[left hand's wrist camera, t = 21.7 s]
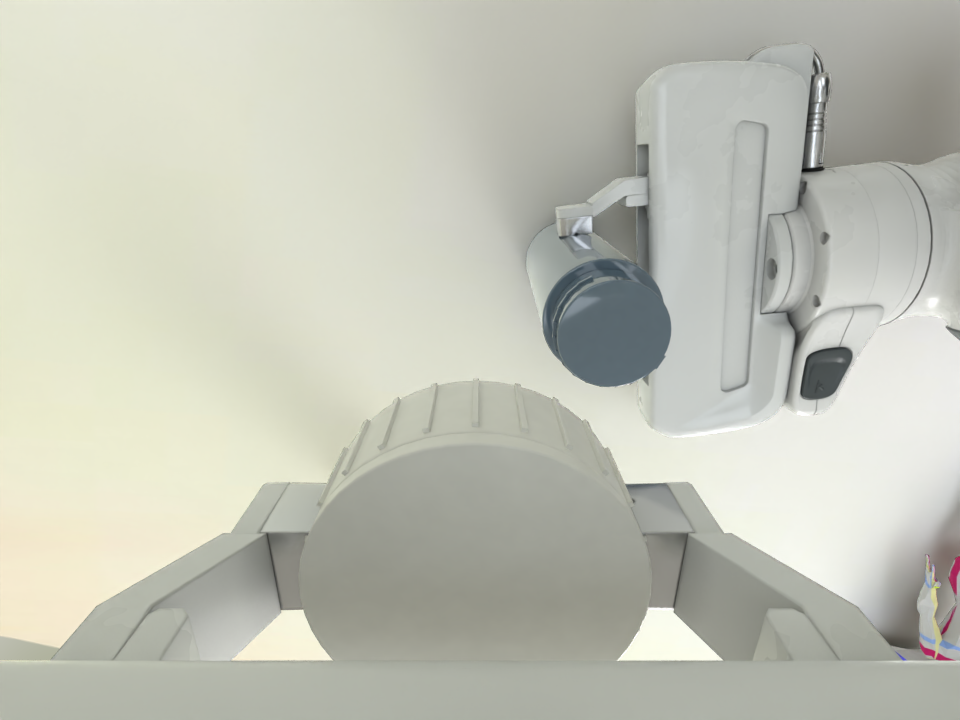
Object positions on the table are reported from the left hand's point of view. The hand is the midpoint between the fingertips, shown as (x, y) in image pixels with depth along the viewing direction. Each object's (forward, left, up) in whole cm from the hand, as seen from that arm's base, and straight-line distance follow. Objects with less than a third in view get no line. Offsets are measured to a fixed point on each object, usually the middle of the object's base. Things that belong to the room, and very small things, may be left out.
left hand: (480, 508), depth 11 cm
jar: (+4, -3, -25) cm, 26 cm away
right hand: (+3, -3, -20) cm, 20 cm away
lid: (0, 0, +2) cm, 2 cm away
